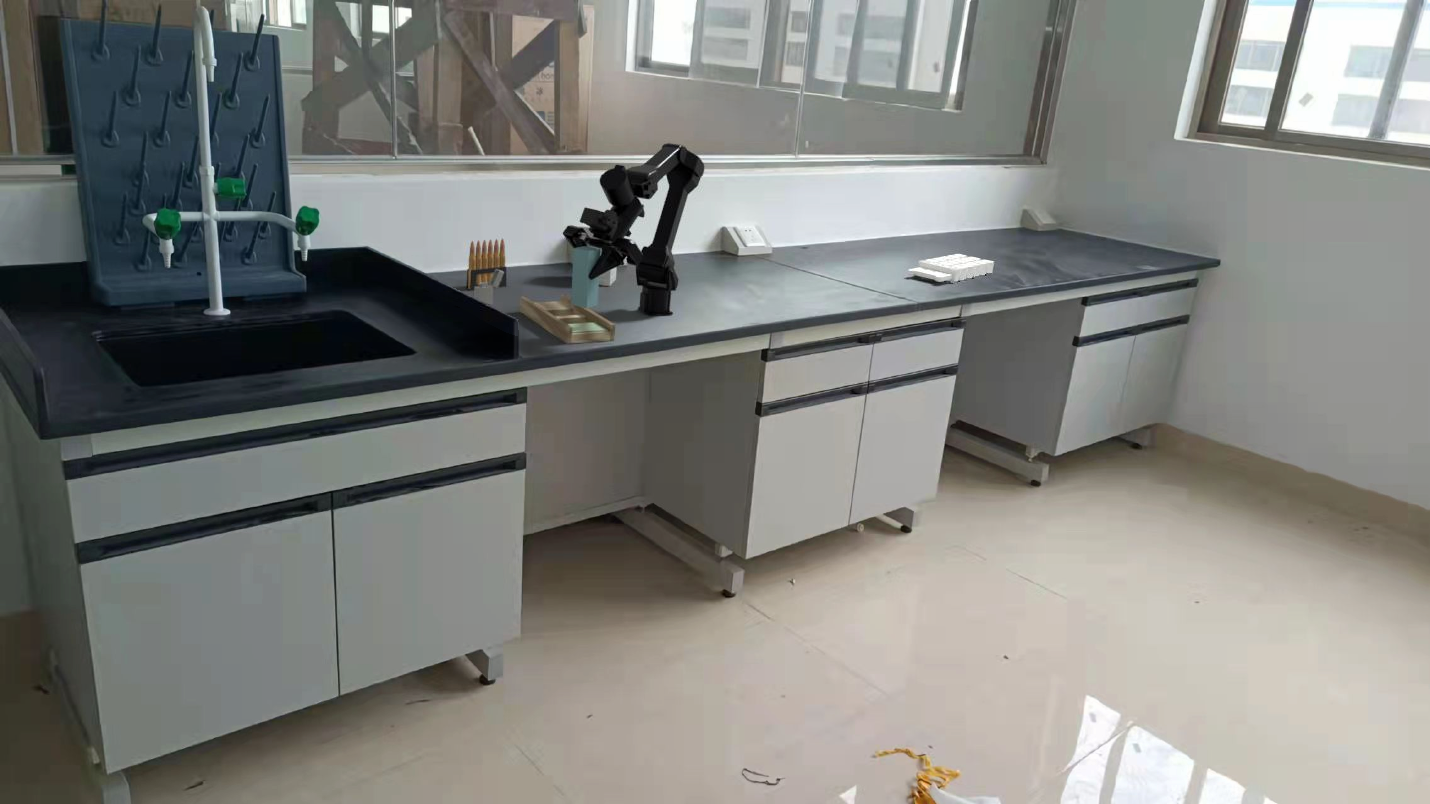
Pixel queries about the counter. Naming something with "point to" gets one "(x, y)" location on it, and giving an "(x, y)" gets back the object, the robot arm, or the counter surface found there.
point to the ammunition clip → (485, 264)
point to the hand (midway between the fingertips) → (581, 276)
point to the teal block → (584, 277)
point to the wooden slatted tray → (568, 320)
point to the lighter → (488, 287)
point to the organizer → (952, 268)
